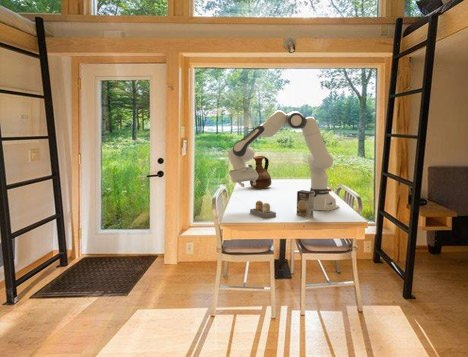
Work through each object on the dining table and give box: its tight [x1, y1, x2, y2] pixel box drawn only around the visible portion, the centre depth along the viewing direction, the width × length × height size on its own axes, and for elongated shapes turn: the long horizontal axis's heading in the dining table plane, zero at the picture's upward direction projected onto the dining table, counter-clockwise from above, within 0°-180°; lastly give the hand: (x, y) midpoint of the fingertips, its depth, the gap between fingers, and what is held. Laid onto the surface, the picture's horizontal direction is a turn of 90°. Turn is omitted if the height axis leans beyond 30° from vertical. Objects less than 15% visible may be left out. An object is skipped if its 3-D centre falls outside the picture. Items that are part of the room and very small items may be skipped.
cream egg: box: [263, 202, 271, 214], centre depth 226 cm, size 5×5×8 cm
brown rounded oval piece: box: [255, 200, 264, 211], centre depth 233 cm, size 5×5×8 cm
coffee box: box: [296, 189, 314, 218], centre depth 228 cm, size 9×6×16 cm
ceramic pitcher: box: [249, 155, 272, 189], centre depth 335 cm, size 20×20×30 cm
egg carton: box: [249, 207, 277, 219], centre depth 230 cm, size 8×16×4 cm, turn 32°
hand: (249, 185), depth 242 cm, fingers open, 8 cm apart
